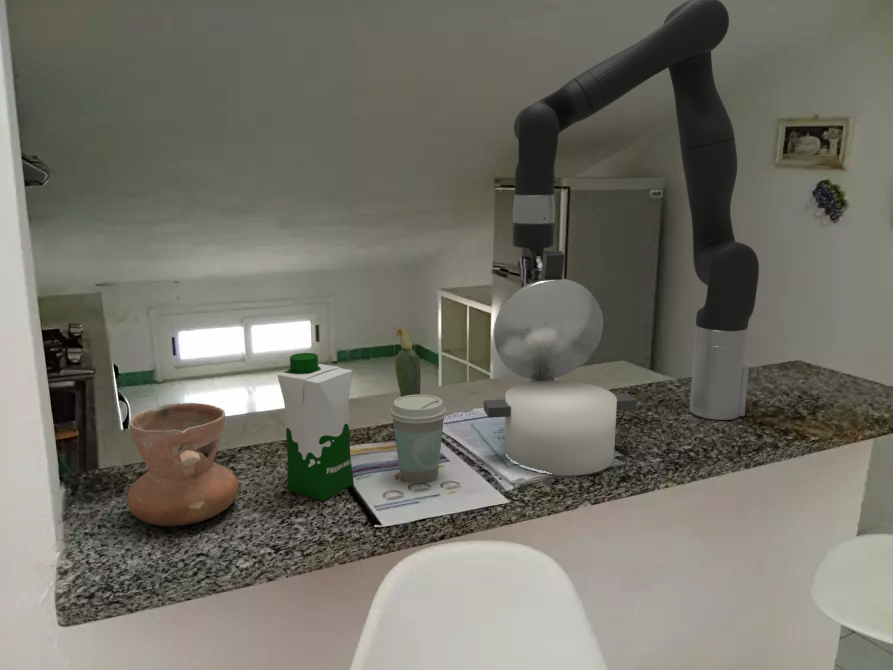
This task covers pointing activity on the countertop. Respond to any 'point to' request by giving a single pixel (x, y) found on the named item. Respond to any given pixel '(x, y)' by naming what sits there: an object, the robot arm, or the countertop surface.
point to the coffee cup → (418, 436)
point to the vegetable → (407, 367)
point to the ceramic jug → (180, 465)
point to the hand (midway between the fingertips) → (531, 314)
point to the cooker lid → (548, 325)
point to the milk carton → (317, 426)
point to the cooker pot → (560, 425)
